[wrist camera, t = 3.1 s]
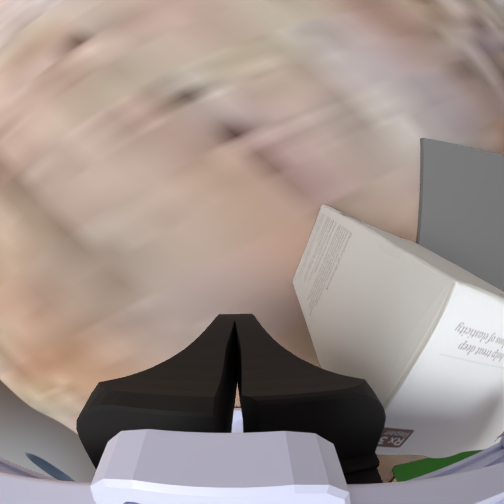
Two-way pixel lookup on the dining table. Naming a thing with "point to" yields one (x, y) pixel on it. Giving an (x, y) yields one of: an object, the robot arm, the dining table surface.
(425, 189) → the mat
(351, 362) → the skincare box
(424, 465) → the hardback book
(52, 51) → the dining table surface
